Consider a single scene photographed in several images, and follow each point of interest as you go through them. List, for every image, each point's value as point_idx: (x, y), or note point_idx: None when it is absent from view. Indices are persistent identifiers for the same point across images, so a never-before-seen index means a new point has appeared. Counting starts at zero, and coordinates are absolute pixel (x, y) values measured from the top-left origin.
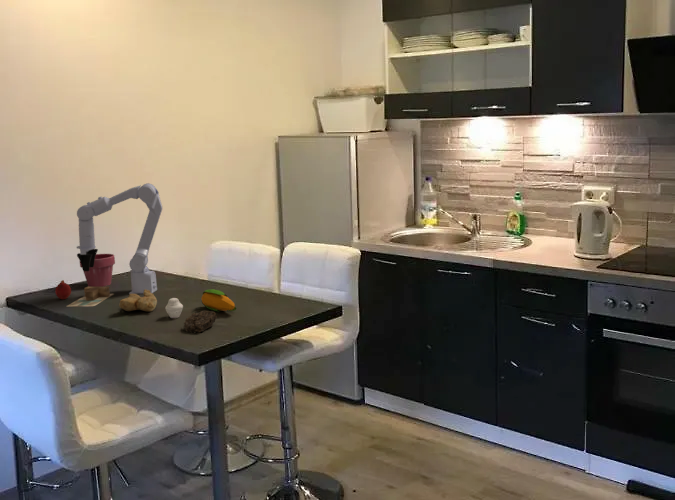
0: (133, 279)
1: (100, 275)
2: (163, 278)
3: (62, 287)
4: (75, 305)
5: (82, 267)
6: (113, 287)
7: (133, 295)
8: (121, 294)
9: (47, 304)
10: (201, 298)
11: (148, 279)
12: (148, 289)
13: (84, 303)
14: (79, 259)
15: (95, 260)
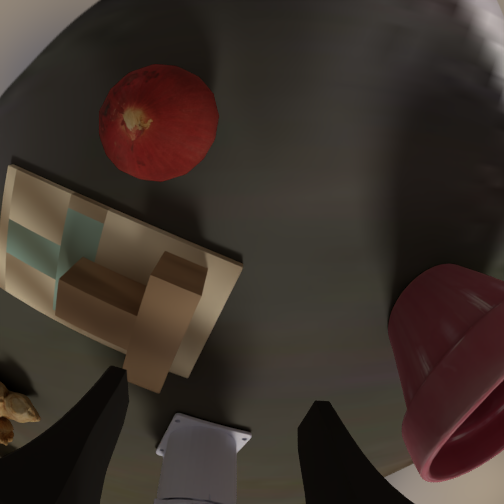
0: (168, 473)
1: (403, 369)
2: (376, 464)
3: (101, 126)
4: (11, 209)
5: (90, 391)
6: (361, 367)
7: (8, 412)
8: (195, 394)
9: (114, 44)
10: None
11: (158, 491)
12: (163, 461)
13: (33, 249)
14: (16, 451)
15: (435, 439)
